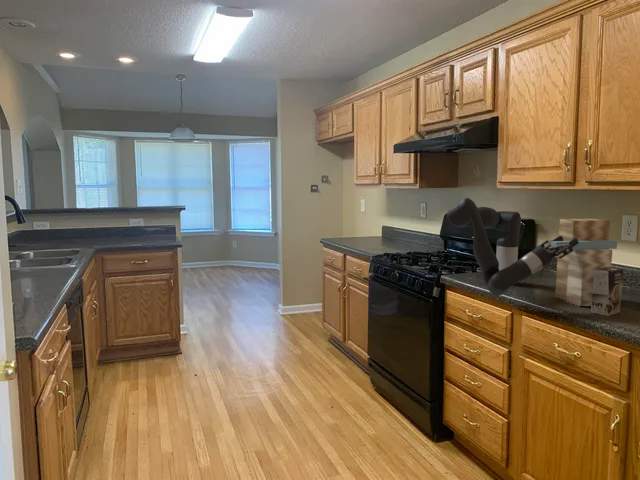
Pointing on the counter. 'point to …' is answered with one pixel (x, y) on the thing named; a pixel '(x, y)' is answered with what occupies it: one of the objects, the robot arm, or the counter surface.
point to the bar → (590, 244)
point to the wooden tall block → (582, 232)
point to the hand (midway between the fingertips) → (569, 239)
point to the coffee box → (607, 291)
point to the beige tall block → (584, 273)
